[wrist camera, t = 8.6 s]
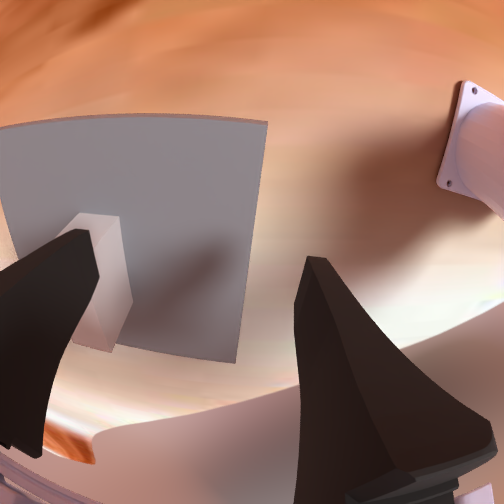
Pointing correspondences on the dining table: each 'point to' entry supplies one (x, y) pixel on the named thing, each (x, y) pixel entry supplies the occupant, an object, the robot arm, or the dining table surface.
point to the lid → (144, 220)
